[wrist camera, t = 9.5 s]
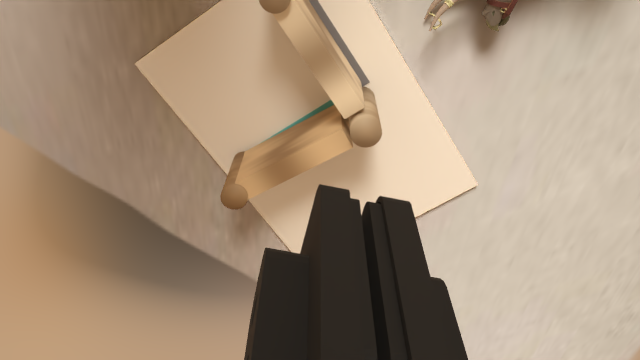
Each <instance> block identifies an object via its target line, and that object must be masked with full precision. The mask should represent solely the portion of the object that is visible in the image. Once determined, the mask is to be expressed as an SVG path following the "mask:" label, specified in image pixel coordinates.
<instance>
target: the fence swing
mask: <svg viewBox="0 0 640 360" xmlns="http://www.w3.org/2000/svg"><path fill="white" fill-rule="evenodd" d="M351 148H353V143H352V139H351V137H350V127H349V117H348V118H346V119H344V118H343V116H342V115H341V113H340V112H339V110H338V109H337V108H336V106H335V105H333V106H331V107H329V108H327V109H325V110H323V111H321V112H319V113H317V114H315V115H314V116H312V117H310V118H308V119H306V120H304V121H302V122H300V123H298V124H296V125H294V126H293V127H291V128H289V129H287V130H285V131H283V132H281V133H279V134H277V135H275V136H273V137H272V138H270V139H268V140H266V141H264V142H262V143H260V144H258V145H256V146H254V147H253V148H251V149H249V150H247V151H243V152H239V153H237V154H236V155H235V156H234V159H233V161H232V164H231V167H230V170H229V173H228V176H227V178H226V181H225V184H224V187H223V190H222V193H221V201H222V203H223V204H224V205H225V206H226V207H227V208H230V209H240V208H242V207H244V206H245V204H246V202H247V200H249V199H251V198H253V197H255V196H257V195H259V194H261V193H263V192H265V191H267V190H269V189H271V188H273V187H275V186H277V185H279V184H281V183H283V182H285V181H287V180H289V179H291V178H293V177H295V176H297V175H299V174H301V173H303V172H305V171H307V170H309V169H311V168H313V167H315V166H317V165H319V164H321V163H323V162H325V161H327V160H329V159H331V158H333V157H335V156H337V155H339V154H341V153H343V152H345V151H347V150H349V149H351Z"/></svg>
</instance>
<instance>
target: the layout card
mask: <svg viewBox="0 0 640 360" xmlns="http://www.w3.org/2000/svg"><path fill="white" fill-rule="evenodd" d="M309 2H310V3H311V5H312V6H313V8H314V9H315V11H316V13H317V14H318V16H319V17H320V19H321V20H322V22H323V23H324V25H325V26H326V28H327V30H328V31H329V33H330V34H331V36H332V37H333V39H334V40H335V42H336V43H337V45H338V47H339V48H340V50H341V51H342V53H343V54H344V56H345V57H346V59H347V60H348V62H349V64H350V65H351V67H352V68H353V70H354V71H355V73H356V74H357V76H358V77H359V79H360V81H361V84H362V87H363V86H364V87H367V88H369V89H371V90H372V91H373V93H374V95H375V100H376V104H377V109H378V114H379V119H380V124H381V128H382V136H381V139H380V140H379V142H378V143H377V144H375V145H374V146H372V147H367V148H364V147H360V146H357V145H356V144H355V143H354V142H353V141H352V143H353V148H351V149H349V150H347V151H345V152H343V153H341V154H339V155H337V156H335V157H333V158H331V159H329V160H327V161H325V162H323V163H321V164H319V165H317V166H315V167H313V168H311V169H309V170H307V171H305V172H303V173H301V174H299V175H297V176H295V177H293V178H291V179H289V180H287V181H285V182H283V183H281V184H279V185H277V186H275V187H273V188H271V189H269V190H267V191H265V192H263V193H261V194H259V195H257V196H255V197H253V198H251V199H249V202H250V203H251V204H252V205H253V206H254V208H255V209H256V210H257V211H258V212H259V214H260V215H261V216H262V217H263V218H264V220H265V221H266V222H267V223H268V224H269V226H270V227H271V228H272V229H273V230H274V232H275V233H276V234H277V235H278V236H279V238H280V239H281V240H282V241H283V242H284V244H285V245H286V246H287V247H288V248H289V249H290V251H291V252H293V253H299V254H300V252H301V248H302V244H303V240H304V237H305V233H306V229H307V225H308V221H309V217H310V214H311V210H312V206H313V202H314V198H315V195H316V191H317V188H318V186H319V184H322V185H327V186H332V187H337V188H342V189H348V190H349V191H350V198H353V199H358V200H359V201H360V208H361V215H362V212H363V209H364V206H365V204H366V202H367V201H368V202H374V203H376V200H377V199H378V197H379V196H384V197H389V198H394V199H399V200H405V201H409V202H410V203H411V205H412V209H413V213H414V217H417V216H419V215H421V214H423V213H425V212H427V211H429V210H431V209H433V208H435V207H437V206H439V205H440V204H442V203H444V202H446V201H448V200H450V199H452V198H454V197H456V196H458V195H460V194H462V193H464V192H466V191H467V190H469V189H471V188H473V187H475V186H477V185H478V183H477V181H476V180H475V178H474V176H473V175H472V173H471V171H470V169H469V168H468V166H467V164H466V163H465V161H464V159H463V158H462V156H461V154H460V153H459V151H458V149H457V148H456V146H455V144H454V143H453V141H452V139H451V138H450V136H449V134H448V133H447V131H446V129H445V128H444V126H443V124H442V123H441V121H440V119H439V117H438V116H437V114H436V112H435V111H434V109H433V107H432V106H431V104H430V102H429V101H428V99H427V97H426V96H425V94H424V92H423V91H422V89H421V87H420V86H419V84H418V82H417V81H416V79H415V77H414V76H413V74H412V72H411V71H410V69H409V67H408V65H407V64H406V62H405V60H404V59H403V57H402V55H401V54H400V52H399V50H398V49H397V47H396V45H395V44H394V42H393V40H392V39H391V37H390V35H389V34H388V32H387V30H386V29H385V27H384V25H383V24H382V22H381V20H380V19H379V17H378V15H377V13H376V12H375V10H374V8H373V7H372V5H371V3H370V2H369V0H309ZM135 65H136V67H137V68H138V69H139V70H140V71H141V73H142V74H143V75H144V76H145V77H146V79H147V80H148V81H149V82H150V83H151V85H152V86H153V87H154V88H155V89H156V91H157V92H158V93H159V94H160V95H161V97H162V98H163V99H164V100H165V101H166V102H167V104H168V105H169V106H170V107H171V108H172V110H173V111H174V112H175V113H176V114H177V116H178V117H179V118H180V119H181V120H182V122H183V123H184V124H185V125H186V126H187V128H188V129H189V130H190V131H191V132H192V134H193V135H194V136H195V137H196V138H197V140H198V141H199V142H200V143H201V144H202V146H203V147H204V148H205V149H206V150H207V151H208V153H209V154H210V155H211V156H212V157H213V159H214V160H215V161H216V162H217V163H218V165H219V166H220V167H221V168H222V169H223V171H224V172H225V173H226V174H227V175H228V173H229V170H230V167H231V164H232V161H233V159H234V156H235V155H236V154H237V153H239V152H243V151H247V150H249V149H251V148H253V147H254V146H256V145H258V144H260V143H262V142H264V141H266V140H268V139H270V138H272V137H273V136H275V135H277V134H279V133H281V132H283V131H285V130H287V129H289V128H291V127H293V126H294V125H296V124H298V123H300V122H302V121H304V120H306V119H308V118H310V117H312V116H314V115H315V114H317V113H319V112H321V111H323V110H325V109H327V108H329V107H331V106H333V105H334V103H333V102H332V100H331V99H330V97H329V96H328V94H327V93H326V91H325V90H324V89H323V87H322V86H321V84H320V83H319V81H318V80H317V78H316V77H315V75H314V74H313V72H312V71H311V70H310V68H309V67H308V65H307V64H306V62H305V61H304V59H303V58H302V56H301V55H300V53H299V52H298V51H297V49H296V48H295V46H294V45H293V43H292V42H291V40H290V39H289V37H288V36H287V34H286V33H285V32H284V30H283V29H282V27H281V26H280V24H279V23H278V21H277V20H276V18H275V17H274V15H273V14H272V13H269V12H267V11H266V10H264V9H263V8H262V6H261V5H260V3H259V0H221V1H220V2H218V3H217V4H215V5H214V6H213V7H211V8H210V9H209V10H207V11H206V12H204V13H203V14H202V15H200V16H199V17H198V18H196V19H195V20H193V21H192V22H191V23H189V24H188V25H187V26H185V27H184V28H182V29H181V30H180V31H178V32H177V33H176V34H174V35H173V36H171V37H170V38H169V39H167V40H166V41H165V42H163V43H162V44H160V45H159V46H158V47H156V48H155V49H154V50H152V51H151V52H149V53H148V54H147V55H145V56H144V57H143V58H141V59H140V60H138V61H137V62H136V63H135Z"/></svg>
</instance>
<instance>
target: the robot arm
mask: <svg viewBox="0 0 640 360" xmlns="http://www.w3.org/2000/svg"><path fill="white" fill-rule="evenodd" d="M244 360H468V358H467V354H466V351H465V347H464V344H463V341H462V337H461V334H460V330H459V327H458V324H457V320H456V317H455V314H454V310H453V307H452V303H451V300H450V297H449V293H448V290H447V287H446V285H445V283H444V281H443V280H441V279H440V278H434V277H430V274H429V270H428V266H427V262H426V258H425V255H424V251H423V247H422V243H421V239H420V236H419V232H418V228H417V224H416V220H415V217H414V213H413V209H412V205H411V203H410V202H409V201H405V200H399V199H394V198H389V197H384V196H379V197H378V199H377V200H376V203H374V202H368V201H367V202H366V204H365V206H364V209H363V212H362V215H361V208H360V201H359V200H358V199H353V198H350V191H349V190H348V189H342V188H337V187H332V186H327V185H322V184H319V186H318V188H317V191H316V195H315V198H314V202H313V206H312V210H311V214H310V217H309V221H308V225H307V229H306V233H305V237H304V240H303V244H302V248H301V252H300V254H299V253H293V252H288V251H282V250H276V249H271V248H265V251H264V255H263V259H262V264H261V268H260V273H259V277H258V282H257V287H256V292H255V297H254V302H253V308H252V314H251V319H250V325H249V332H248V339H247V345H246V352H245V359H244Z"/></svg>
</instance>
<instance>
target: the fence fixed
mask: <svg viewBox="0 0 640 360" xmlns="http://www.w3.org/2000/svg"><path fill="white" fill-rule="evenodd" d="M259 3H260V5H261V6H262V8H263V9H264V10H266V11H267V12H269V13H272V14H273V15H274V17H275V18H276V20H277V21H278V23H279V24H280V26H281V27H282V29H283V30H284V32H285V33H286V34H287V36H288V37H289V39H290V40H291V42H292V43H293V45H294V46H295V48H296V49H297V51H298V52H299V53H300V55H301V56H302V58H303V59H304V61H305V62H306V64H307V65H308V67H309V68H310V70H311V71H312V72H313V74H314V75H315V77H316V78H317V80H318V81H319V83H320V84H321V86H322V87H323V89H324V90H325V91H326V93H327V94H328V96H329V97H330V99H331V100H332V102H333V103H334V105H335V106H336V108H337V109H338V110H339V112H340V113H341V115H342V116H343V118H344V119H346V118H348V117H349V127H350V137H351V139H352V141H353V142H354V143H355V144H356V145H357V146H360V147H364V148H367V147H372V146H374V145H375V144H377V143H378V142H379V140H380V139H381V136H382V128H381V124H380V119H379V114H378V109H377V104H376V100H375V95H374V93H373V91H372V90H371V89H369V88H367V87H364V86H363V87H362V84H361V81H360V79H359V77H358V76H357V74H356V73H355V71H354V70H353V68H352V67H351V65H350V64H349V62H348V60H347V59H346V57H345V56H344V54H343V53H342V51H341V50H340V48H339V47H338V45H337V43H336V42H335V40H334V39H333V37H332V36H331V34H330V33H329V31H328V30H327V28H326V26H325V25H324V23H323V22H322V20H321V19H320V17H319V16H318V14H317V13H316V11H315V9H314V8H313V6H312V5H311V3H310V2H309V0H259Z"/></svg>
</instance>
